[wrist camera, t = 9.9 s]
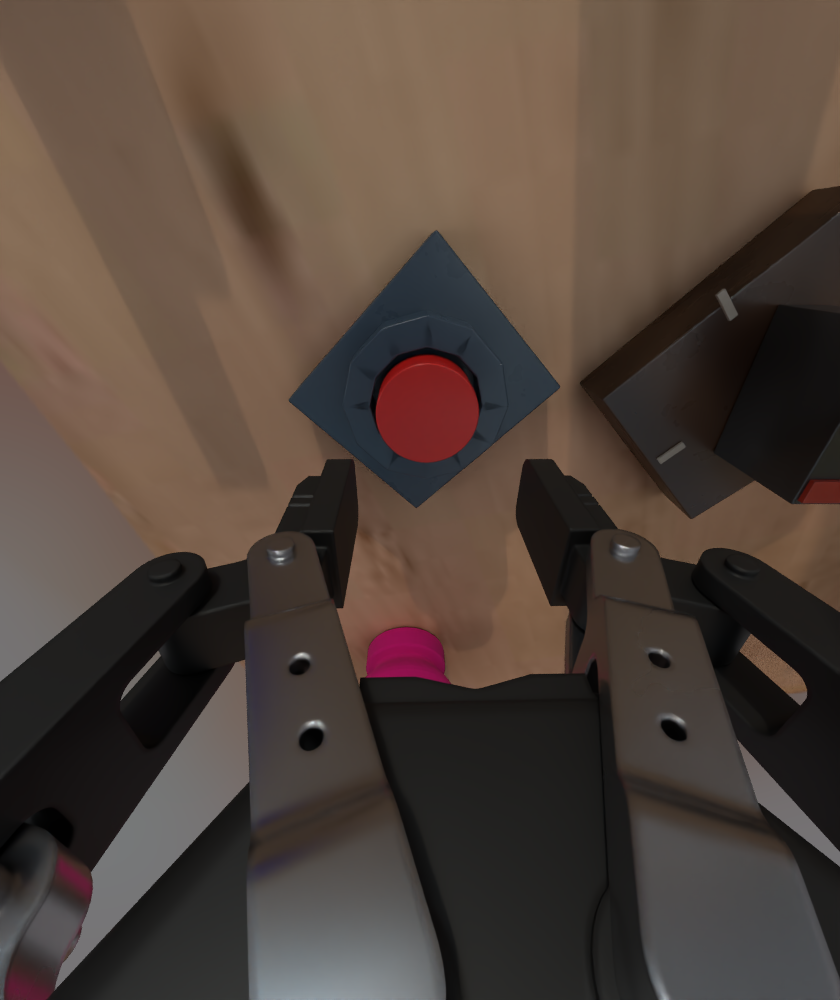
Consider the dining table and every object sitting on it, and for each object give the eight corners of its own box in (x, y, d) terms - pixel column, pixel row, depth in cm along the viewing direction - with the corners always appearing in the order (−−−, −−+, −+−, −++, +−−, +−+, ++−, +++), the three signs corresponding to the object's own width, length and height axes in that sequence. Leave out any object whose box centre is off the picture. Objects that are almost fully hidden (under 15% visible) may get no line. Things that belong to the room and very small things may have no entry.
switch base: (808, 176, 17) (882, 162, 15) (872, 365, 22) (938, 381, 19) (572, 374, 22) (596, 392, 19) (667, 499, 26) (697, 527, 23)
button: (427, 330, 17) (429, 338, 15) (492, 403, 19) (500, 416, 17) (358, 403, 18) (353, 416, 17) (424, 463, 20) (426, 480, 19)
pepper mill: (349, 632, 32) (283, 1070, 15) (437, 613, 31) (476, 1055, 14) (377, 684, 35) (351, 1083, 18) (457, 669, 35) (506, 1071, 18)
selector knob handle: (778, 304, 17) (908, 322, 13) (832, 305, 17) (980, 323, 13) (712, 452, 21) (796, 507, 16) (757, 453, 21) (852, 507, 16)
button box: (433, 231, 18) (439, 226, 15) (547, 375, 22) (574, 399, 18) (297, 387, 21) (277, 413, 18) (415, 489, 25) (417, 527, 22)
